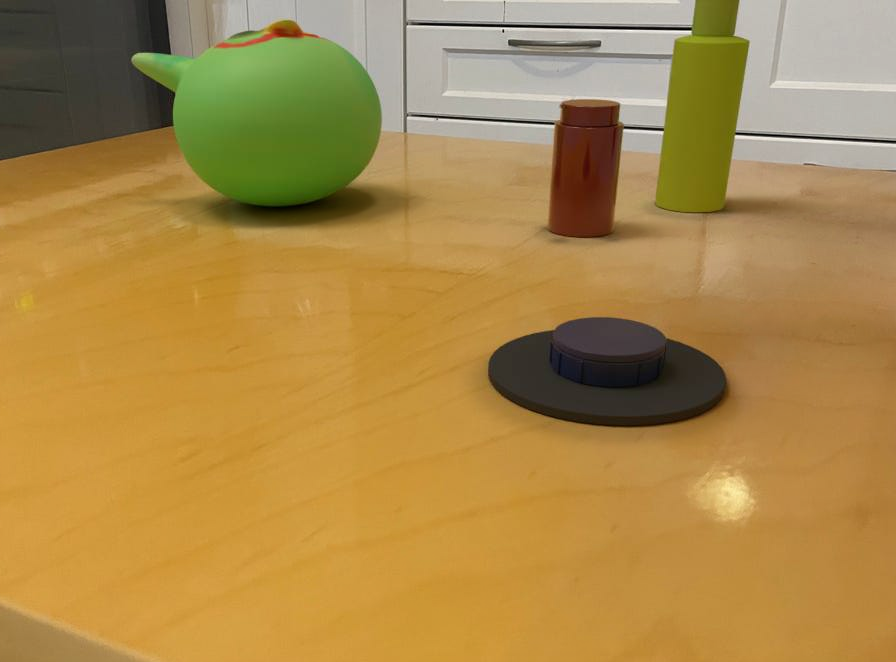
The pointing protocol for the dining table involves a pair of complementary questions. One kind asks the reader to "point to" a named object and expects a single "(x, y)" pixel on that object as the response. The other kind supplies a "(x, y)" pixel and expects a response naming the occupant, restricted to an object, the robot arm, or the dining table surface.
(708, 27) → the soap dispenser
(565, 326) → the lid
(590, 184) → the jar
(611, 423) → the coaster
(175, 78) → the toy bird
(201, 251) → the dining table surface
